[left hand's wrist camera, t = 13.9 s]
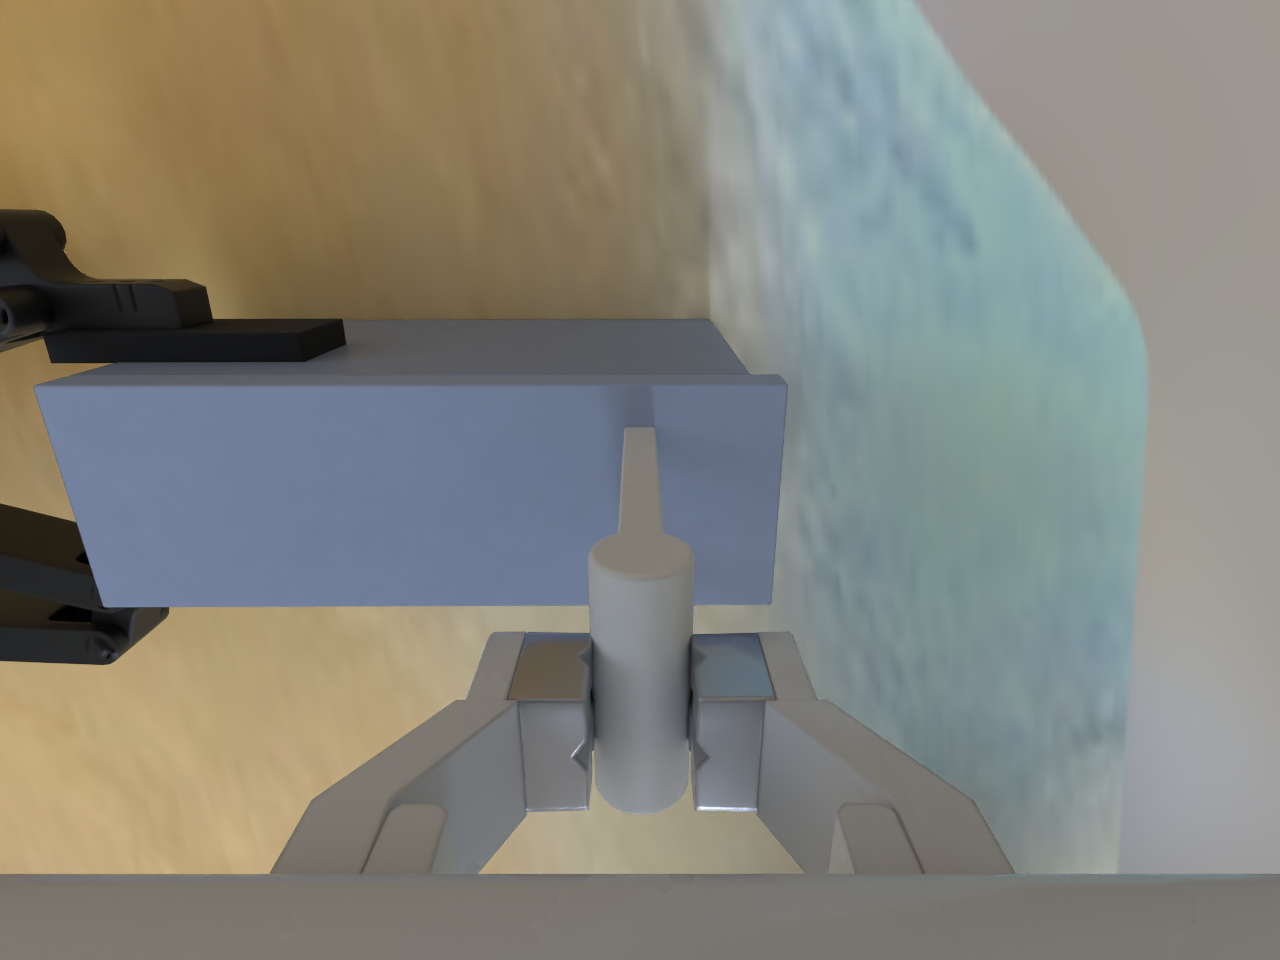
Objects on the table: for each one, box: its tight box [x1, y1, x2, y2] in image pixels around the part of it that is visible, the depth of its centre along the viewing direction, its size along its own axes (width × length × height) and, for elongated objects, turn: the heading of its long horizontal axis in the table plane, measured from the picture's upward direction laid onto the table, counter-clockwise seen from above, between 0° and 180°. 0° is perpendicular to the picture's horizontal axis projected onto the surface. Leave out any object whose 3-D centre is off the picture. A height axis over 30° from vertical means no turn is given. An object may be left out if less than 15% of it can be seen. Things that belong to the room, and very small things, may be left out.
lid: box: [34, 375, 788, 815], centre depth 13 cm, size 17×6×8 cm, turn 90°
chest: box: [69, 319, 750, 377], centre depth 22 cm, size 16×6×10 cm, turn 90°
